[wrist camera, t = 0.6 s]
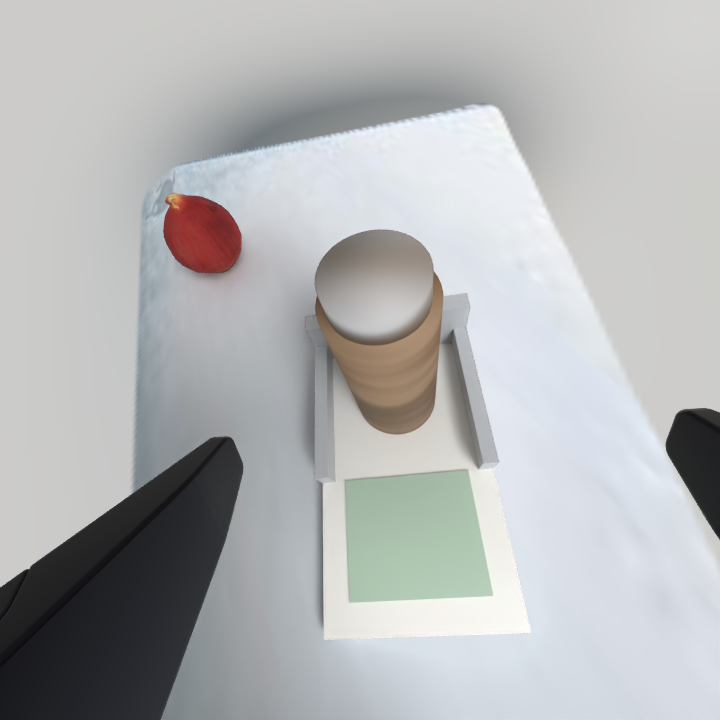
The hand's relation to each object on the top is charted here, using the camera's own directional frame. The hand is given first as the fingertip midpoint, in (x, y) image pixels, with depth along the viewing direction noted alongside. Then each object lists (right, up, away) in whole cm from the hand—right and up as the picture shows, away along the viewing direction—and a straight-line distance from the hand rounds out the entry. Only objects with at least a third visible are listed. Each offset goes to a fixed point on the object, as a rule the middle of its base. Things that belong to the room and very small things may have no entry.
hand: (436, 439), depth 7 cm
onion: (-14, +10, +25) cm, 31 cm away
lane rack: (+1, -5, +14) cm, 15 cm away
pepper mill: (+1, -1, +15) cm, 15 cm away
